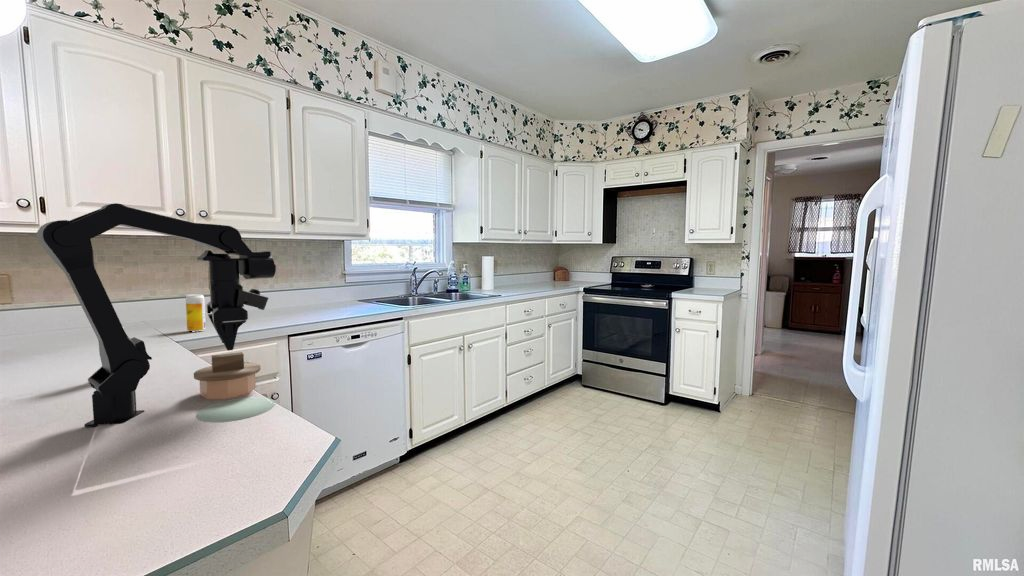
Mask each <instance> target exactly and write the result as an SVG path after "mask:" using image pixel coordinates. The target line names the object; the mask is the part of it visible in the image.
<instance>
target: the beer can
mask: <svg viewBox="0 0 1024 576" xmlns="http://www.w3.org/2000/svg"><path fill="white" fill-rule="evenodd" d="M185 312H186V330H187V331H188V332H189V331H199V330H204V329H205V330H206V325H207V324H206V305H205V296H204V294H199V293H198V294H197V293H193V294H186V296H185ZM205 330H204V331H205Z"/></svg>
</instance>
